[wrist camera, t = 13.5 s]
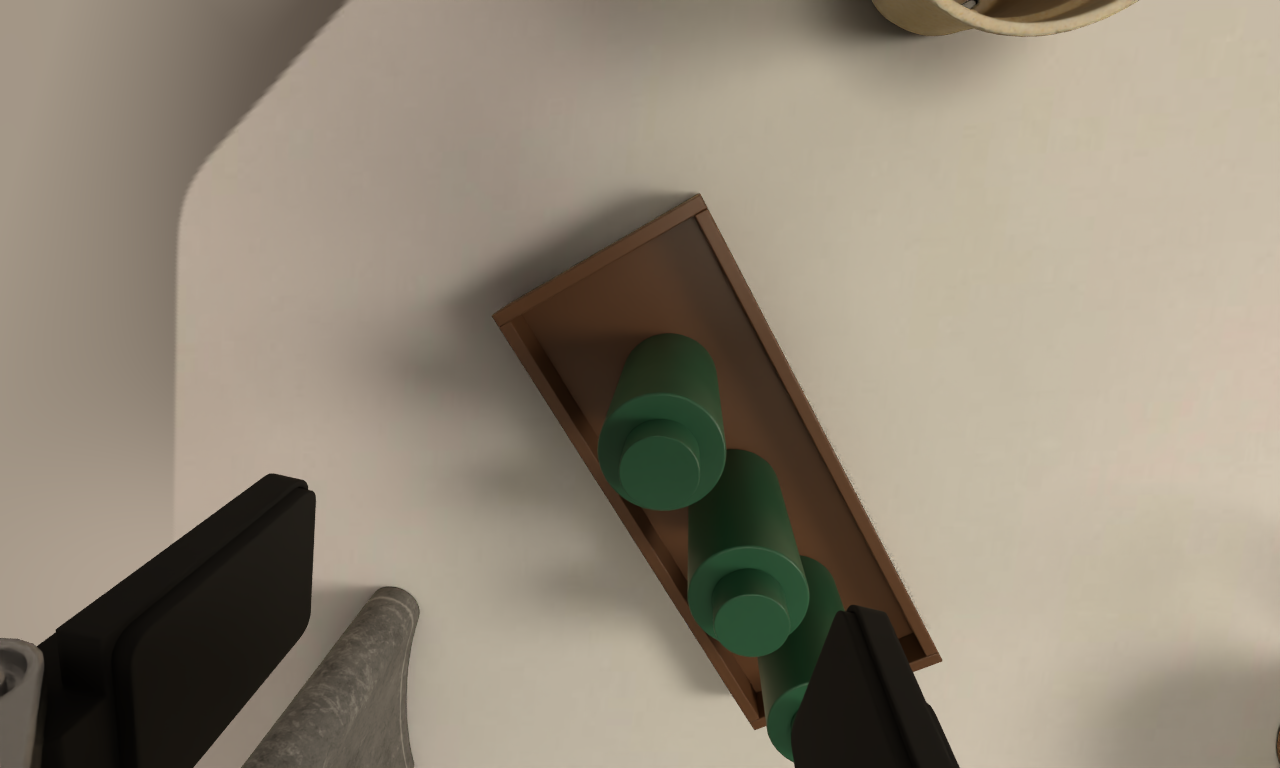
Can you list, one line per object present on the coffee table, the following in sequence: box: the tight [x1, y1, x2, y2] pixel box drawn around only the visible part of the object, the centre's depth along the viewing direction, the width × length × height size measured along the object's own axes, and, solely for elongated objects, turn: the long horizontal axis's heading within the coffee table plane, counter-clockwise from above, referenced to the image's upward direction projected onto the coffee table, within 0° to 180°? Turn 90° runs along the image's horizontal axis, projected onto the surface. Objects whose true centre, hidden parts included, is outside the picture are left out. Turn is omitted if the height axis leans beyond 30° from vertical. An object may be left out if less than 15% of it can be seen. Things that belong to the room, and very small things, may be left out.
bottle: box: [597, 333, 726, 511], centre depth 25 cm, size 4×4×10 cm
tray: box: [492, 193, 942, 730], centre depth 31 cm, size 25×10×2 cm, turn 30°
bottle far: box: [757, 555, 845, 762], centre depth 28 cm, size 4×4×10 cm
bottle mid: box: [687, 449, 809, 657], centre depth 26 cm, size 4×4×10 cm
